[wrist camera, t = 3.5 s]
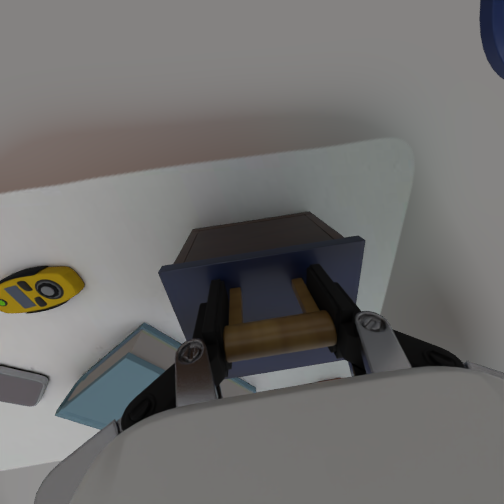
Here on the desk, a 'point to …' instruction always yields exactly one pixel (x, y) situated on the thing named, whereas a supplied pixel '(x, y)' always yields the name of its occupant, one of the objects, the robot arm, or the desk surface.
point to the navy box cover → (268, 302)
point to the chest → (255, 236)
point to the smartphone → (21, 387)
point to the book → (128, 378)
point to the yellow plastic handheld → (38, 289)
